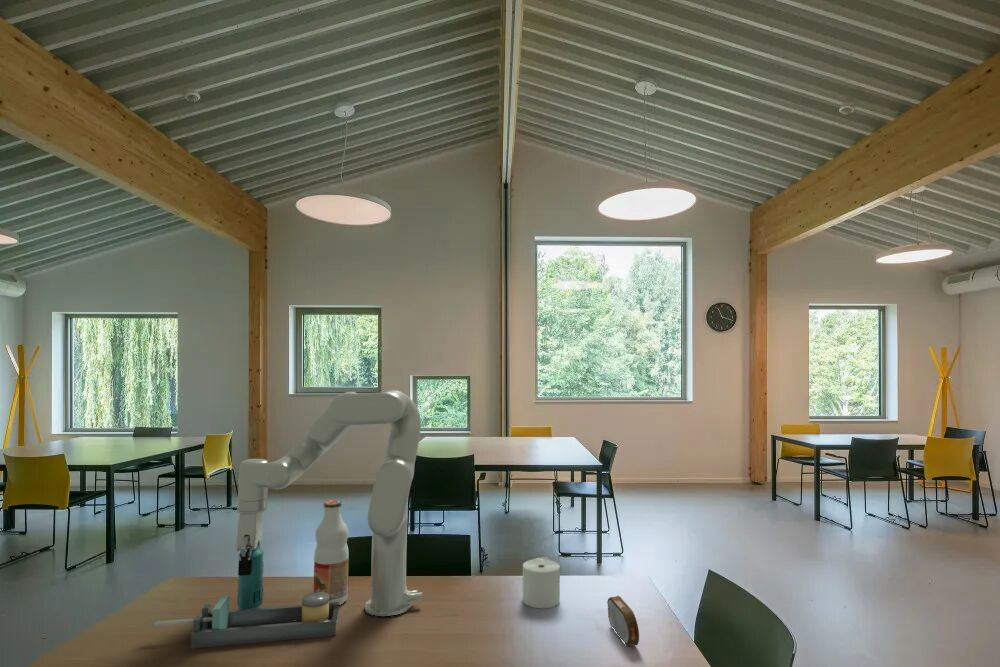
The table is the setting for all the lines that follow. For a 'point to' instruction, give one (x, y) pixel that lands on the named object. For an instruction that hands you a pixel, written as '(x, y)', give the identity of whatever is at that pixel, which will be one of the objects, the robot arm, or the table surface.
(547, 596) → the toilet tissue
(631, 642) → the tin
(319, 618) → the jar
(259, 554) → the beverage bottle
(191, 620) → the pusher
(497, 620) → the table surface
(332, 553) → the fruit juice
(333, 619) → the lane
